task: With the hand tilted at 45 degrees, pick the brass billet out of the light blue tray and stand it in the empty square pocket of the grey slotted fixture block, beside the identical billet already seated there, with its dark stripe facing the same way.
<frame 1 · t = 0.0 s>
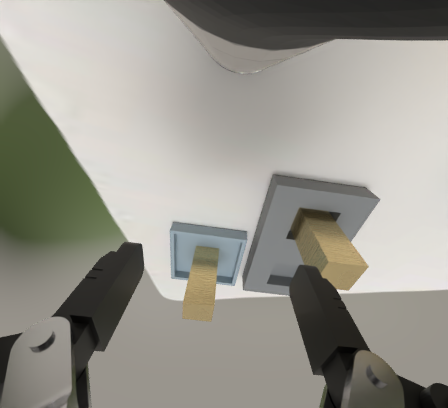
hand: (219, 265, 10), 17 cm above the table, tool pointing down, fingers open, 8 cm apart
grey slotted fixture block: (292, 240, 31), on the table
brass billet: (206, 254, 33), point 1 cm above the table, touching light blue tray
seated billet: (307, 217, 28), point 1 cm above the table, touching grey slotted fixture block
light blue tray: (207, 252, 34), on the table
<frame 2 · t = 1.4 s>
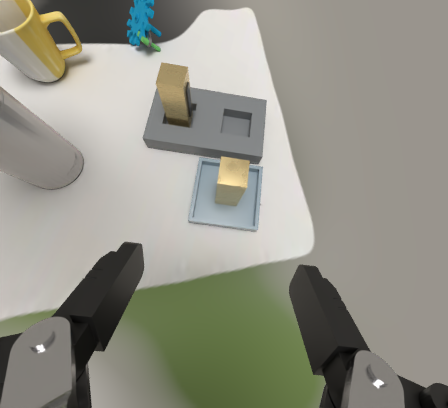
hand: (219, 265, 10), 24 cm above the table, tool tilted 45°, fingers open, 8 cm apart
mug: (59, 72, 40), on the table
grey slotted fixture block: (208, 128, 39), on the table
blue and green toy: (146, 41, 44), on the table
brass billet: (226, 194, 35), point 1 cm above the table, touching light blue tray
seated billet: (181, 120, 38), point 1 cm above the table, touching grey slotted fixture block
light blue tray: (226, 195, 36), on the table
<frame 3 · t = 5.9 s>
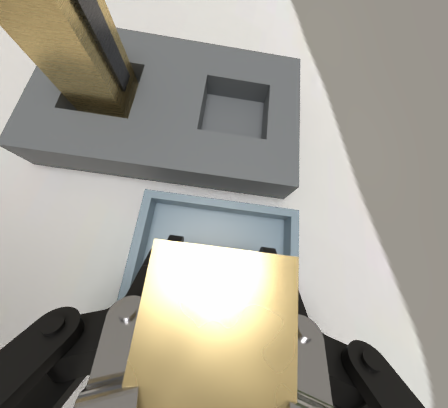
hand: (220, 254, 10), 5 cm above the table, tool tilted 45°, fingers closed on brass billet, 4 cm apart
grey slotted fixture block: (176, 120, 18), on the table
brass billet: (212, 280, 14), point 1 cm above the table, touching gripper, light blue tray
seated billet: (114, 103, 17), point 1 cm above the table, touching grey slotted fixture block
light blue tray: (212, 279, 15), on the table
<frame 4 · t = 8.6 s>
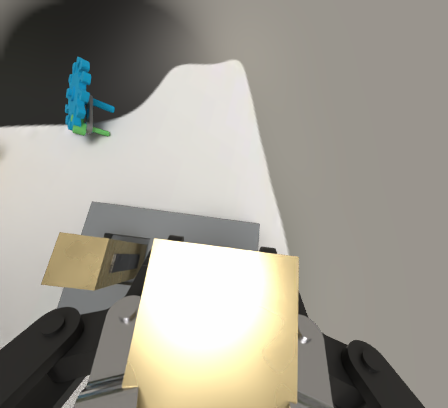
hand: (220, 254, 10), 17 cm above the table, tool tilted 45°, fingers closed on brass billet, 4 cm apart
grey slotted fixture block: (172, 263, 26), on the table
blue and green toy: (93, 117, 31), on the table
brass billet: (212, 280, 14), point 12 cm above the table, touching gripper
seated billet: (128, 258, 25), point 1 cm above the table, touching grey slotted fixture block
when the fingers open (6 cm above the table, at t = 11.2 s): brass billet stays where it is, resting on grey slotted fixture block.
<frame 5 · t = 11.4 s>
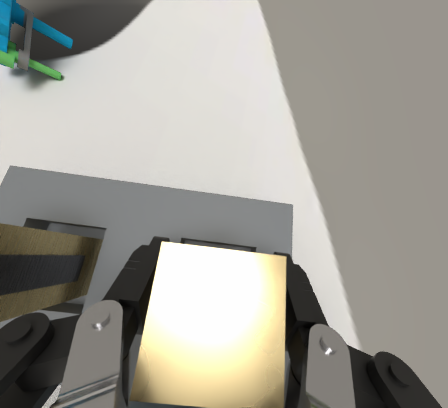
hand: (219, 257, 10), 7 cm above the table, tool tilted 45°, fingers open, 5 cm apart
grey slotted fixture block: (148, 270, 16), on the table
blue and green toy: (41, 55, 21), on the table
brass billet: (212, 281, 15), point 1 cm above the table, touching grey slotted fixture block
seated billet: (73, 262, 15), point 1 cm above the table, touching grey slotted fixture block
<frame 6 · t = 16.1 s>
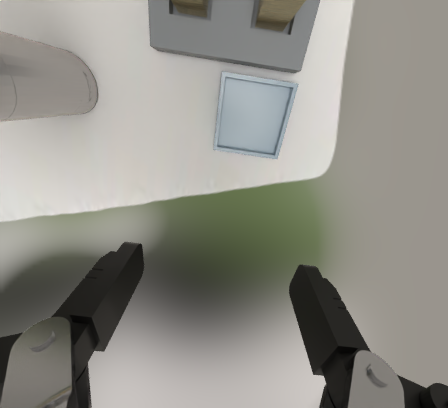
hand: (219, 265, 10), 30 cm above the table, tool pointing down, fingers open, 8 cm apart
grey slotted fixture block: (233, 5, 27), on the table
brass billet: (272, 10, 26), point 1 cm above the table, touching grey slotted fixture block
light blue tray: (251, 118, 34), on the table
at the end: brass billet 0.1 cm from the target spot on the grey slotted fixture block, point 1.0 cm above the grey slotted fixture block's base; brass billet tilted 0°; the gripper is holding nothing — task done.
